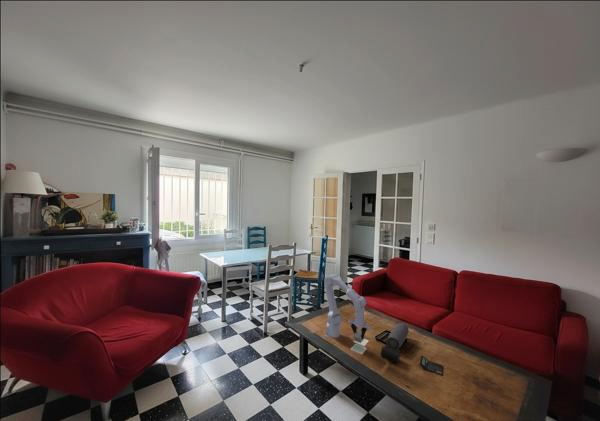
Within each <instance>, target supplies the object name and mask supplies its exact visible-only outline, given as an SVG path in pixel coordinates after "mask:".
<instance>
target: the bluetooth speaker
mask: <svg viewBox="0 0 600 421" xmlns="http://www.w3.org/2000/svg"><path fill="white" fill-rule="evenodd" d="M408 335H409V326H407V325H406V324H405V323H403V322H400V323H398V324H397V325H396V326H395V327H394V328H393V329H392V330H391V332H390V333H389V334H388V337H387V339H386V345H388V346H390V349H391V350H394V349H395V348H396V349H399V350H400V348H401V347H402V346H403V344H404V342H405V340H406V339H407V336H408Z"/></svg>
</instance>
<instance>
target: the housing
mask: <svg viewBox="0 0 600 421" xmlns="http://www.w3.org/2000/svg"><path fill="white" fill-rule="evenodd" d="M364 339H365V337H364V338H363V339H362V332H361V329H359V328H357V331H356V332H355V333H353V341H357V342H359V343H361V342H362V341H363V340H364Z"/></svg>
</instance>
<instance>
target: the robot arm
mask: <svg viewBox="0 0 600 421" xmlns="http://www.w3.org/2000/svg"><path fill="white" fill-rule="evenodd" d="M323 281H324V287H325V289H324V290H325V293H326V294H325V295H326V299H327V304H328V309H329V310H328V311H329V312H328V314H327V323H326V325H325V336H324V337H326V338H330V337H331V338H334V339H337V338H339V337H340V334H341V324H342V323H343V317H342V314H341V312H340V311H339V309H338V308H337V302H336V297H335V292H334V287H335V286H337V287H339V288H340V289H341V290H342V291H344V293H346V296H347V297H348V299H350V300H351V301H352V303H353V306H354V310H355V311H354V319H351V318H349V319H348V320H347V323H348V324H350V328H351V329H352V332H353V333H352V334H354V333H355V332H356V331H357V330H358V328H359V327H360V328H361V329H360V330H361V332H362V339H363V338H364V339H365V335H366V332H367V331H371V330H372V326H371V325H369V324H367V323H366V322H365V307H366V305H367V299H366V298H365V297H364V296H361V295H359V294H358V293H357V292H356V291H355V290H354V289H353V288H349V286H348V285H347V284H346V283H345V281H343V280H342V277H341V275H339V274H338V273H334V274H331V275H326V276H325V278H324V279H323Z"/></svg>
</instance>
